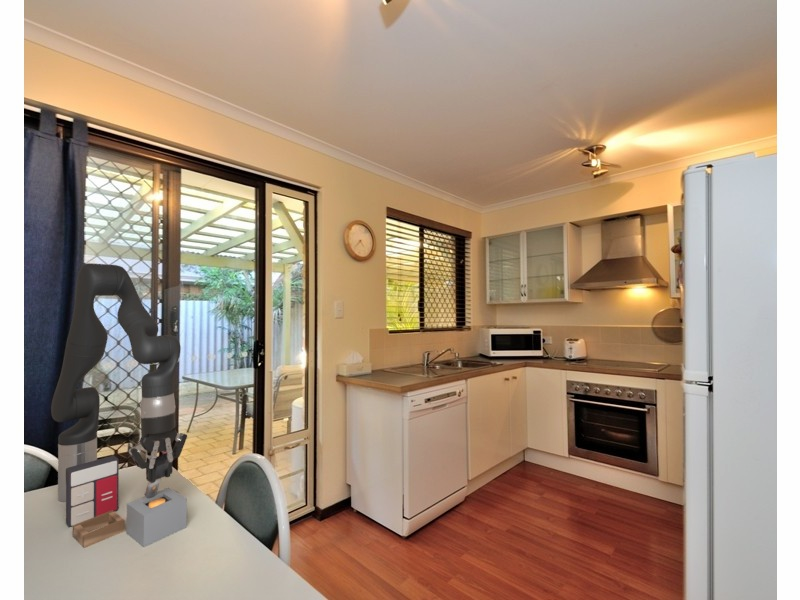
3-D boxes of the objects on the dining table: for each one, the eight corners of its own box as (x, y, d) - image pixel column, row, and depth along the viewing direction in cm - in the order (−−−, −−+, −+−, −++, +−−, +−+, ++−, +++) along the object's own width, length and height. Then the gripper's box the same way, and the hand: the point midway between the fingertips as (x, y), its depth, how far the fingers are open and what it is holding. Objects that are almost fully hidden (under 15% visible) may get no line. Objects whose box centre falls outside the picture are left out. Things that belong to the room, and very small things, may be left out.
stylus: (142, 492, 99) (152, 458, 96) (154, 487, 101) (164, 454, 98) (146, 500, 97) (156, 466, 94) (159, 495, 100) (169, 462, 97)
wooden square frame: (72, 537, 95) (72, 525, 95) (112, 521, 102) (112, 510, 102) (84, 549, 90) (84, 537, 90) (124, 531, 97) (124, 520, 97)
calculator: (68, 529, 98) (69, 472, 98) (65, 523, 101) (65, 468, 101) (119, 511, 107) (119, 458, 107) (114, 505, 109) (115, 454, 109)
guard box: (126, 534, 96) (126, 503, 96) (168, 516, 104) (168, 487, 104) (143, 549, 90) (143, 515, 90) (186, 528, 98) (186, 497, 98)
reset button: (146, 522, 97) (146, 502, 97) (161, 515, 100) (161, 496, 100) (152, 526, 95) (152, 507, 95) (167, 519, 98) (167, 500, 98)
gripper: (179, 404, 105) (180, 466, 104) (120, 417, 93) (121, 487, 93) (193, 407, 101) (194, 472, 100) (133, 421, 89) (134, 494, 89)
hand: (159, 478), depth 96 cm, fingers closed on stylus, 3 cm apart
